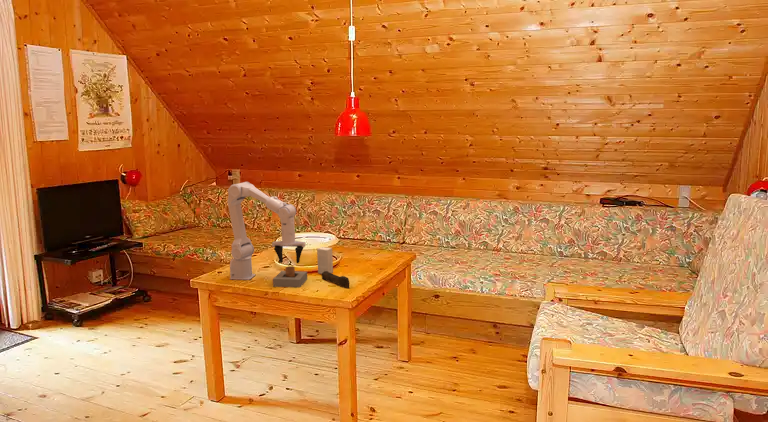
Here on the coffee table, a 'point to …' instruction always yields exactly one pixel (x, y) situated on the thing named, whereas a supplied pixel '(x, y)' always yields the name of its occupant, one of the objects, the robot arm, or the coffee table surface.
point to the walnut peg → (290, 271)
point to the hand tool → (336, 279)
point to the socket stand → (289, 279)
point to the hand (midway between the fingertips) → (289, 262)
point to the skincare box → (325, 260)
